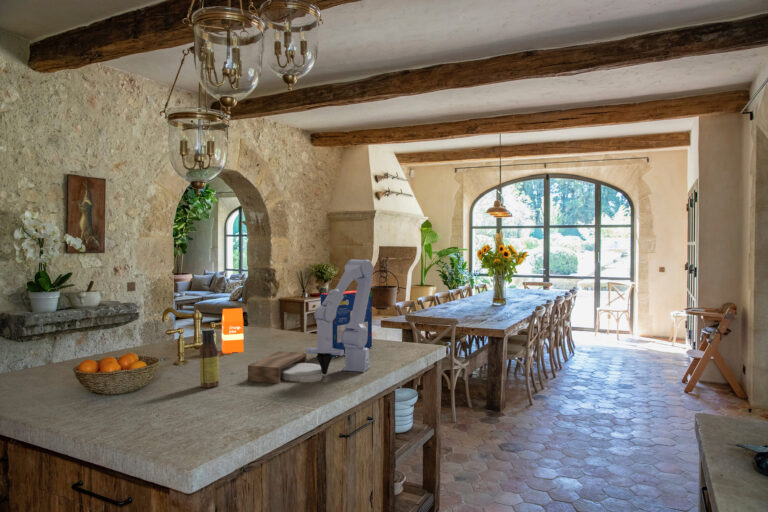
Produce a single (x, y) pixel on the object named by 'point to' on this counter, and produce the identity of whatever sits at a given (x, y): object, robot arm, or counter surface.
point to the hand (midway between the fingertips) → (324, 373)
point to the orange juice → (232, 330)
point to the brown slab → (273, 366)
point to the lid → (302, 372)
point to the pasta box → (345, 316)
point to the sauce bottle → (209, 360)
